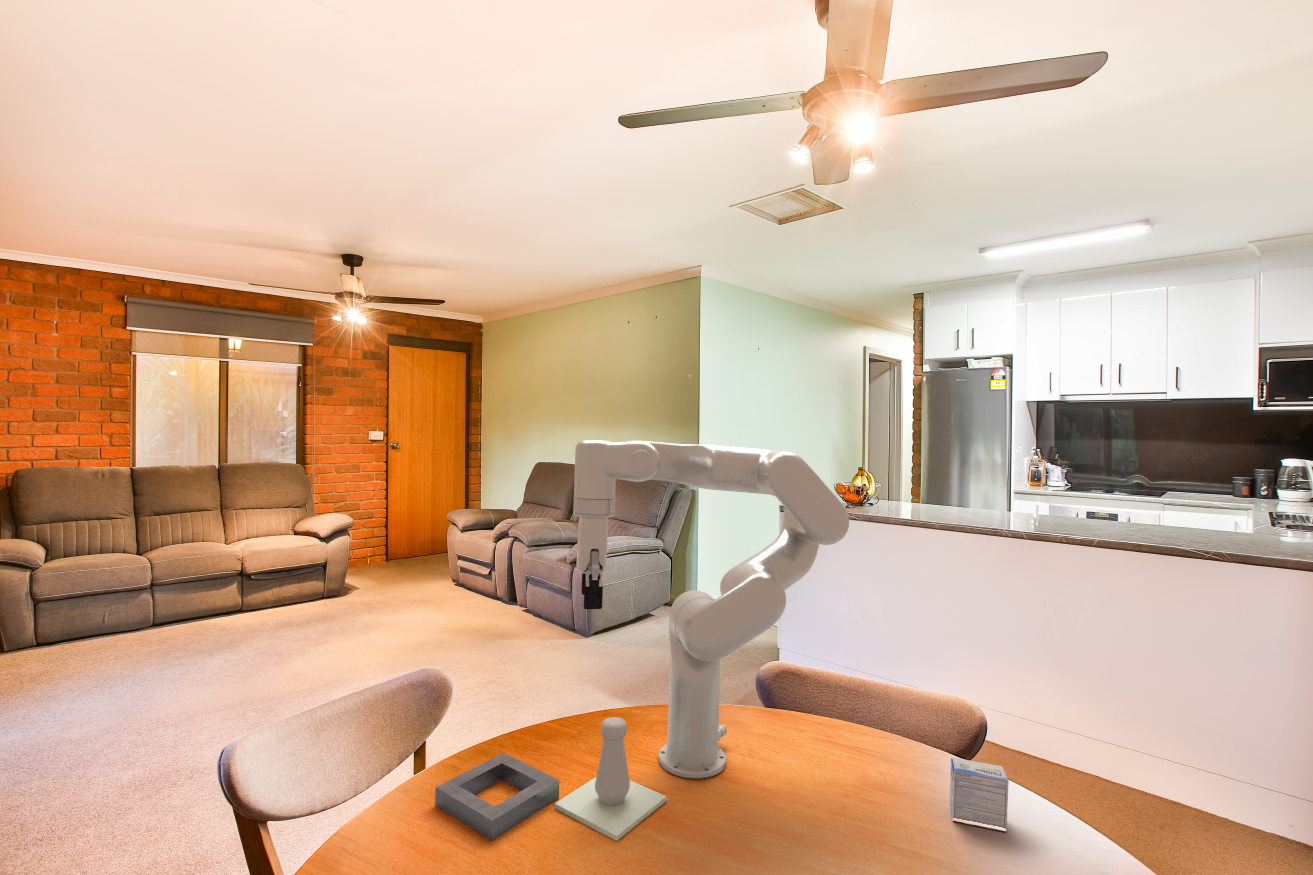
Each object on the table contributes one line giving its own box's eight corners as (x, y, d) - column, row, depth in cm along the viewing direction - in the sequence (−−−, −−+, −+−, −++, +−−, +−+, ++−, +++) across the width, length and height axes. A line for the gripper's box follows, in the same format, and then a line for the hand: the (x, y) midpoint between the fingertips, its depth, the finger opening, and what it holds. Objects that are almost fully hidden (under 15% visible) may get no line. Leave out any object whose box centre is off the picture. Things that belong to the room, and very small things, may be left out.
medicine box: (1001, 818, 101) (1003, 765, 101) (1007, 834, 97) (1009, 779, 97) (948, 807, 104) (950, 755, 104) (952, 822, 100) (953, 769, 100)
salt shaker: (633, 791, 104) (635, 714, 104) (624, 812, 98) (627, 730, 98) (599, 787, 105) (602, 710, 105) (589, 806, 100) (592, 726, 100)
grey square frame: (503, 769, 111) (503, 752, 111) (558, 797, 103) (559, 779, 103) (434, 805, 100) (435, 786, 100) (491, 840, 92) (492, 820, 92)
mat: (606, 774, 111) (606, 769, 111) (666, 800, 103) (666, 796, 103) (554, 808, 100) (554, 803, 100) (616, 840, 93) (616, 835, 93)
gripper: (572, 502, 121) (569, 589, 121) (574, 513, 104) (571, 615, 104) (610, 502, 122) (607, 589, 122) (619, 513, 105) (616, 614, 105)
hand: (591, 601), depth 113 cm, fingers open, 9 cm apart
